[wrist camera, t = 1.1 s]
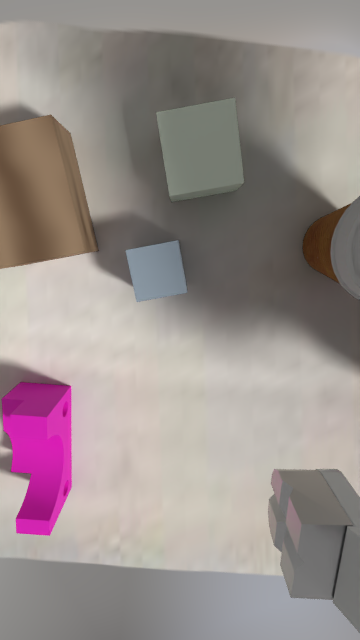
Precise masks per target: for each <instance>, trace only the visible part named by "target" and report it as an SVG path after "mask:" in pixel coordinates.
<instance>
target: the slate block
mask: <svg viewBox="0 0 360 640" xmlns="http://www.w3.org/2000/svg"><path fill="white" fill-rule="evenodd" d="M125 251H126V256H127V260H128V265H129V269H130V274H131V278H132V283H133V287H134V292H135V296H136V301H137V302H139V301H145V300H151V299H156V298H162V297H167V296H173V295H178V294H184V293H187V284H186V278H185V273H184V267H183V262H182V256H181V251H180V245H179V240H176V241H171V242H166V243H161V244H155V245H150V246H145V247H140V248H134V249H129V250H125Z"/></svg>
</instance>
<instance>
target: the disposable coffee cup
mask: <svg viewBox="0 0 360 640" xmlns="http://www.w3.org/2000/svg"><path fill="white" fill-rule="evenodd" d="M303 254H304V257H305V259H306V261H307V262H308V264H309V265H310V266H311V267H312V268H314V269H315V270H317V271H319V272H321V273H322V274H324V275H326V276H327V277H329V278H331V279H333V280H334V281H336V282H338V283H339V284H341V285H342V286H343V288H344V289H345V290H346V291H347V292H348V293H349V294H351V295H352V296H353V297H355V298H357V299H359V300H360V196H359V197H358V198H357V199H356V200H355V201H353V202H352V203H351V204H349V205H347V206H345V207H343V208H341V209H338V210H336V211H334V212H332V213H330V214H328V215H326V216H324V217H322V218H320V219H318V220H317V221H315V222H314V223H313V224H312V225H311V226H310V227H309V229H308V230H307V232H306V234H305V237H304V240H303Z"/></svg>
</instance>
